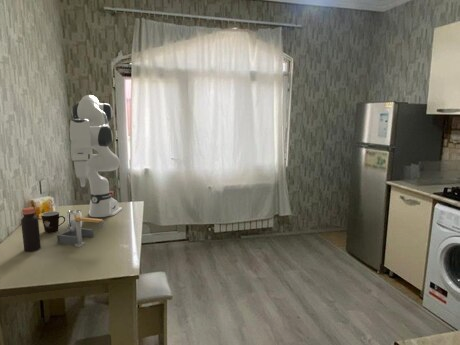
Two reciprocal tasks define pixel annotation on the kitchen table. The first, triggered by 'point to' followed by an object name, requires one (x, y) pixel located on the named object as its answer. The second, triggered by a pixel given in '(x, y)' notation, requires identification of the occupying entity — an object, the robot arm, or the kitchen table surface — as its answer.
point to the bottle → (30, 230)
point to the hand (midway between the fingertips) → (84, 184)
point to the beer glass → (73, 221)
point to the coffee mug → (51, 221)
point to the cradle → (75, 240)
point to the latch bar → (91, 220)
